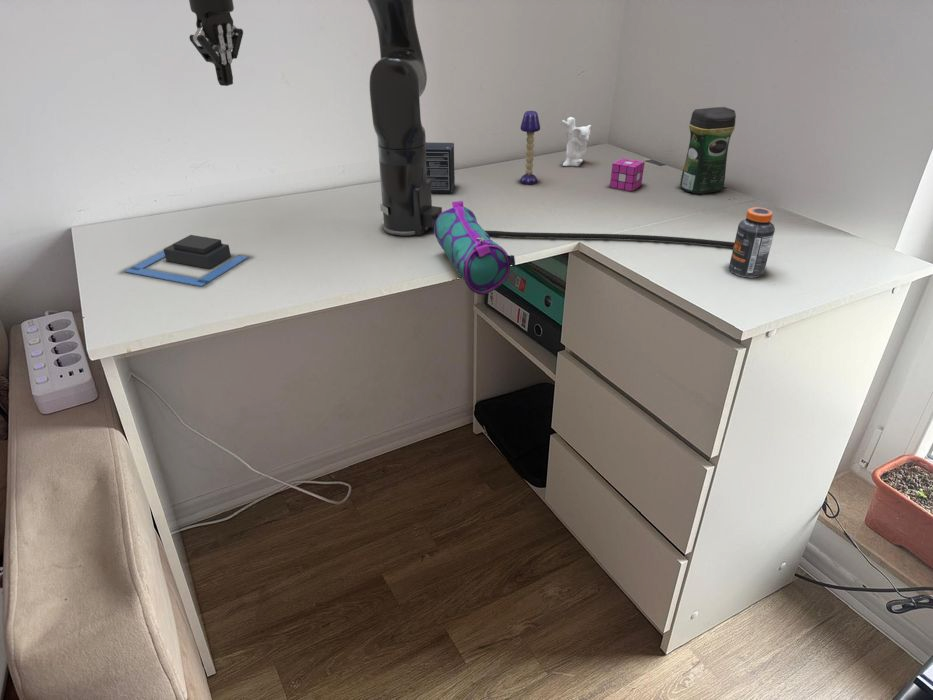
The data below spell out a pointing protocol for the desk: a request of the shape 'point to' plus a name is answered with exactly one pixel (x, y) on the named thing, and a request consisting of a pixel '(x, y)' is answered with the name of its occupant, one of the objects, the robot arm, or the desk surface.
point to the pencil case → (472, 249)
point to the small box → (440, 167)
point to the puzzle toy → (627, 174)
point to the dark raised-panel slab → (198, 251)
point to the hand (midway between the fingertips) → (226, 84)
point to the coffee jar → (708, 149)
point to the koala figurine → (576, 142)
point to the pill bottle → (752, 243)
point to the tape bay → (177, 278)
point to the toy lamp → (529, 144)
